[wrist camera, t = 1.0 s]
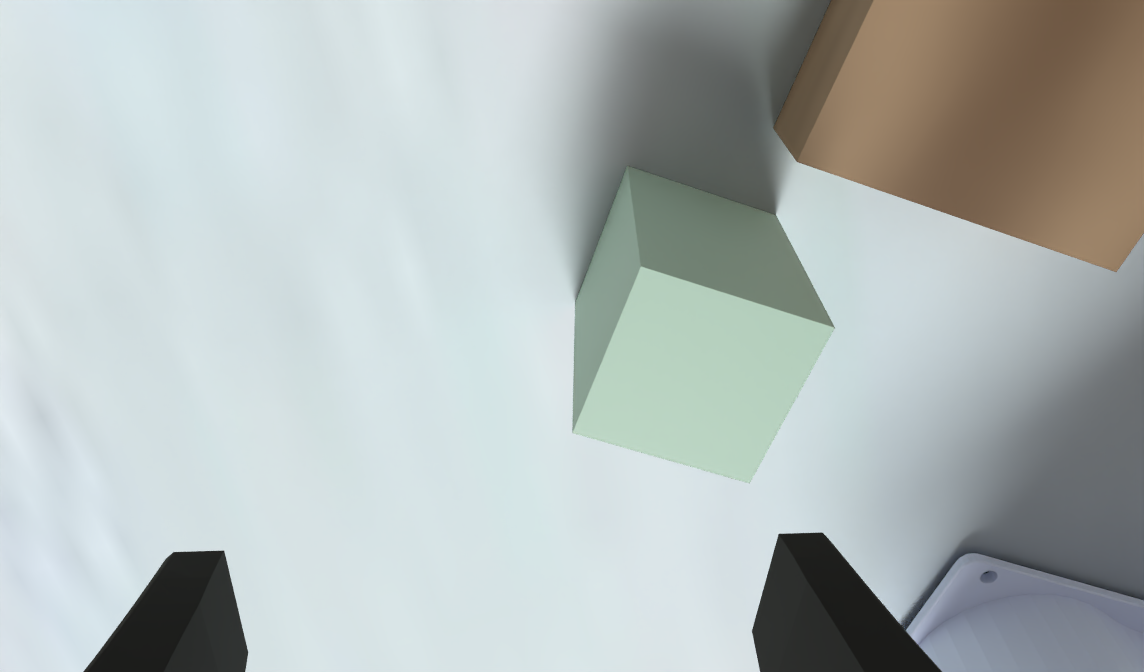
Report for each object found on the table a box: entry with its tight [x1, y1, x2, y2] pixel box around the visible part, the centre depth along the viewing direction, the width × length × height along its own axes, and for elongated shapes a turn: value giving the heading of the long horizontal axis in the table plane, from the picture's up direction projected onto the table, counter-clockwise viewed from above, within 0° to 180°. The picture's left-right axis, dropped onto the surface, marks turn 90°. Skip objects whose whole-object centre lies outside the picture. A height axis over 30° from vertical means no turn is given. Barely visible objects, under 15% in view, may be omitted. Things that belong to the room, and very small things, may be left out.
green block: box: [573, 166, 835, 483], centre depth 20 cm, size 4×4×6 cm
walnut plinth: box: [773, 0, 1144, 272], centre depth 19 cm, size 8×8×3 cm
